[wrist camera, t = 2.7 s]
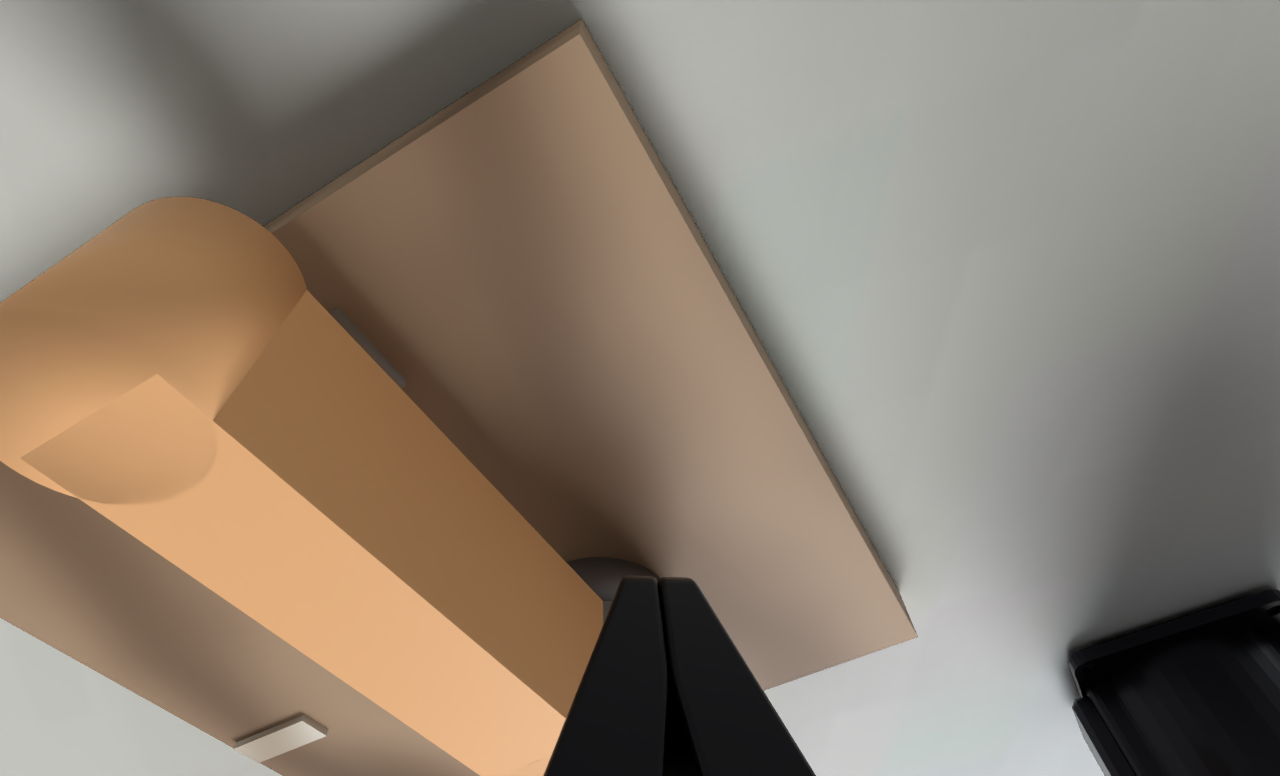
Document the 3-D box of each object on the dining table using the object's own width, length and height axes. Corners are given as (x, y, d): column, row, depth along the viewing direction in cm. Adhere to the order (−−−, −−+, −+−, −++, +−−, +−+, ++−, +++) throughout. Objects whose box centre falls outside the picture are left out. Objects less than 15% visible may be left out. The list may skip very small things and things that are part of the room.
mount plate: (581, 18, 12) (577, 49, 10) (900, 594, 22) (933, 674, 20) (-120, 475, 17) (-224, 561, 15) (383, 783, 27) (363, 863, 25)
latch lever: (715, 672, 19) (736, 817, 16) (570, 725, 20) (565, 868, 17) (238, 135, 10) (99, 232, 8) (37, 276, 11) (-150, 408, 9)
